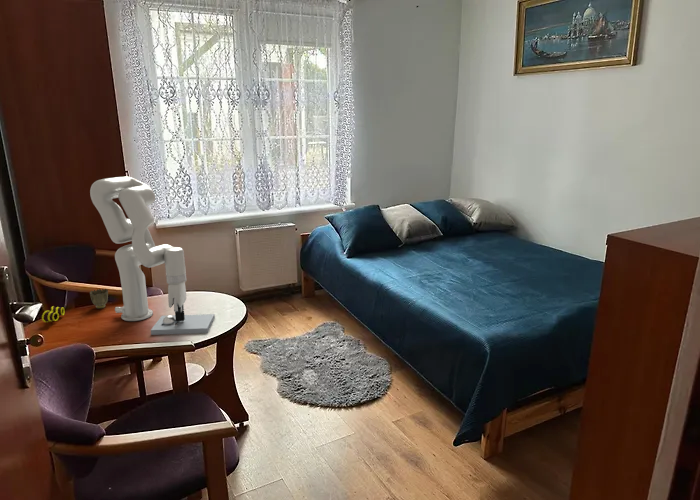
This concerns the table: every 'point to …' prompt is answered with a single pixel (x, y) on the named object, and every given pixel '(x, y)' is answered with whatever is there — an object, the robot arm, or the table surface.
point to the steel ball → (169, 320)
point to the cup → (99, 298)
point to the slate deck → (185, 325)
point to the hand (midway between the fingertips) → (180, 320)
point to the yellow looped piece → (53, 314)
